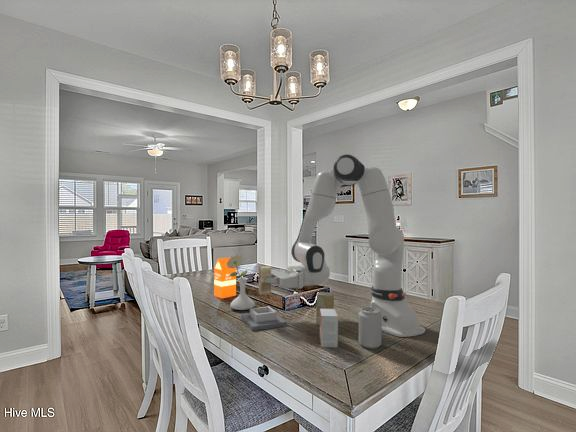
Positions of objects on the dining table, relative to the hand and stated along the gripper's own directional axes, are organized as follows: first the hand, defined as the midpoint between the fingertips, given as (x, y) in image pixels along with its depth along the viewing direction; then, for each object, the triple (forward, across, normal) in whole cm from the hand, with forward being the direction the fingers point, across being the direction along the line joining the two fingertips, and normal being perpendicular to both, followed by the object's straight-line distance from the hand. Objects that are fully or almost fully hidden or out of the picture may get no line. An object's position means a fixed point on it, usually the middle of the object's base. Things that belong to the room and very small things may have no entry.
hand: (262, 279), depth 127 cm
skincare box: (-22, +13, +17) cm, 31 cm away
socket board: (0, +1, +17) cm, 17 cm away
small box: (-14, +29, +17) cm, 36 cm away
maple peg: (-1, 0, +6) cm, 6 cm away
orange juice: (+6, -44, +17) cm, 48 cm away
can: (-26, +36, +17) cm, 47 cm away
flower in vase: (+4, -19, +17) cm, 26 cm away
